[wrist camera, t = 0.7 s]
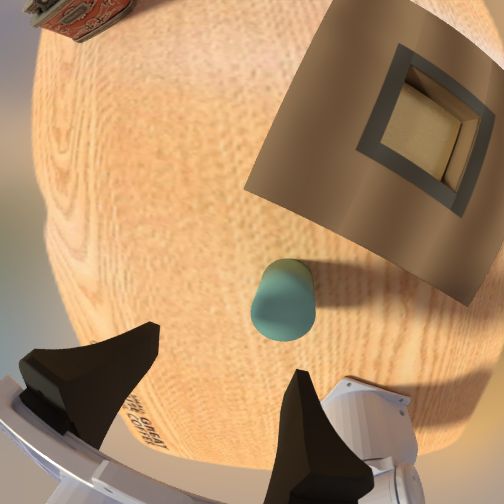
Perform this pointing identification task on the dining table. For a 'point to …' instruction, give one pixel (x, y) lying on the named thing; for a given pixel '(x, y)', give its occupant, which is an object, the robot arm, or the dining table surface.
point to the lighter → (77, 16)
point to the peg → (284, 301)
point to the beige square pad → (421, 131)
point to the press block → (384, 158)
